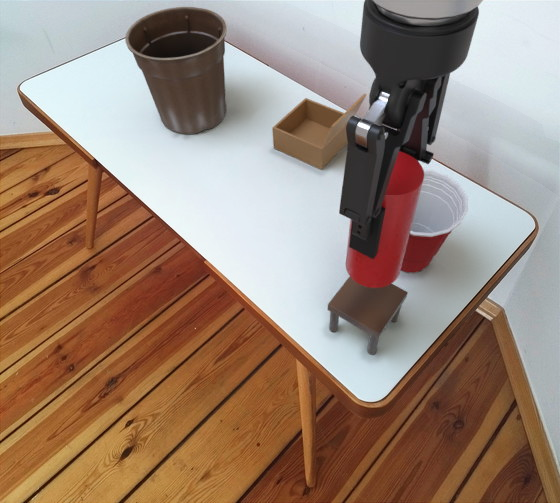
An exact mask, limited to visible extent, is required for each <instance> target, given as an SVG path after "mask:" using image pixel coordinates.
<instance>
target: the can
mask: <svg viewBox="0 0 560 503" xmlns="http://www.w3.org/2000/svg"><path fill="white" fill-rule="evenodd" d="M423 169H424V168H423V166H422V165H421V163H420V161H417V160H416V159H415V158H413V157H412V156H410V155H408V154H406V153H404V152H400V151H399V153H398V156H397V159H396V162H395V165H394V168H393V172H392V175H391V178H390V181H389V184H388V187H387V191H386V194H385V197H384V200H383V203H382V207H384V208H386V209H385V214H384V220H383V225H382V231H381V236H380V241H379V247H378V252H377V255H376V256H375V258H374V259H371V258H369V257H368V256H366V255H364V254H362V253H360V252H358V251H356V250H354V249H352V248H350V247H349V243H350V234H351V226H352V220H351V219H350V221H349V230H348V239H347V247H346V256H345V270H346V272H347V274H348V276H349V277H351V278H352V279H353V280H354V281H355V282H357V283H358V284H360V285H363V286H365V287H370V288H381V287H385V286H388V285H390V284H393V283H394V282H395V281H396V280H397V279H398V278H399V276H400V273H401V271H402V270H401V267H402V263H403V259H404V255H405V251H406V247H407V243H408V239H409V235H410V231H411V227H412V224H413V220H414V216H415V212H416V208H417V204H418V200H419V196H420V192H421V188H422V184H423V180H424V170H423Z"/></svg>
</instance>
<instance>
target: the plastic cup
mask: <svg viewBox="0 0 560 503" xmlns="http://www.w3.org/2000/svg"><path fill="white" fill-rule="evenodd" d="M423 170H424V180H423V184H422V188H421V192H420V196H419V200H418V204H417V208H416V212H415V216H414V220H413V224H412V227H411V231H410V235H409V239H408V243H407V247H406V251H405V255H404V259H403V263H402V267H401V271H402V272H404V273H412V274H414V273H419V272H422V271H423V270H424V269H426V268H427V267H428V266H429V265H430V263H431V262H432V260H433V259H434V257H435V256H436V255H437V254H438V252H439V250H440V249H441V247H442V246H443V244H444V243H445V241H446V239H447V238H448V236H449V235H450V234H451V233H452V232H453V230H455V229H456V228H458V227H459V226H460V225H461V224H462V223H463V221H464V219H465V217H467V214H468V212H469V197H468V195H467V193H466V192H465V190H464V188H463V187H462V184H460V183H459V182H457V181H456V180H455V179H453V178H452V177H451V176H449V175H448V174H445V173H442V172H439V171H436V170H433V169H427V168H426V169H424V168H423Z"/></svg>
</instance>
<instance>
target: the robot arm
mask: <svg viewBox="0 0 560 503" xmlns="http://www.w3.org/2000/svg"><path fill="white" fill-rule="evenodd" d="M483 1H484V0H364V1H363V8H362V17H361V29H360V38H359V49H360V53H361V55H362V58H363V59H364V60H365V61H366V63H367V64H368V65H369V66H370V68H371V69H372V71H373V73H374V75H375V78H374V79H373V81H372V83H371V84H372V85H371V86H370V90H369V96H368V103H369V104H368V105H369V107H368V110H367V111H366V113H365V114H364V116H363V118H361V117H358V116H356V115H355V116H351V117H350V119H349V121H348V123H347V126H346V133H347V141H348V143H347V148H346V156H345V164H344V172H343V179H342V187H341V193H340V194H341V195H340V202H339V210H338V213H339V215H342V216H344V217H346V218H347V219H351V220H352V226H351V234H350V243H349V247H350V248H352V249H354V250H356V251H358V252H360V253H362V254H364V255H366V256H368V257H369V258H371V259H374V258H375V256H376V255H377V252H378V247H379V241H380V236H381V231H382V225H383V220H384V214H385V209H386V208H384V207H382V203H383V200H384V197H385V194H386V191H387V187H388V184H389V181H390V178H391V175H392V172H393V168H394V165H395V162H396V159H397V156H398V153H399V151H400V152H404V153H406V154H408V155H410V156H412V157H413V158H415V159H416V160H417V161H418V162H421V163H423V164H426V165H429V164H430V163H431V161H432V160H433V158H434V152H432V151H429V150H428V149H427V148H428V145H429V146H432V144H433V143H434V142H435V141H436V140H437V139H436V138H437V137H436V136H437V132H438V128H439V123H440V119H441V115H442V111H443V106H444V102H445V98H446V94H447V90H448V84H449V81H450V77H451V73H453V72H455V71H456V70H458V69H459V68H460V67H461V66H462V65H463V64H464V62H465V61H466V60H467V57H468V56H469V51H470V47H471V45H472V40H473V37H474V34H475V30H476V25H477V22H478V20H479V14H480V9H479V6H480V5H481V3H482V2H483Z"/></svg>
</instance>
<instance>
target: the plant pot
mask: <svg viewBox="0 0 560 503" xmlns="http://www.w3.org/2000/svg"><path fill="white" fill-rule="evenodd" d="M227 29H228V27H227V24H226V20H225V19H224V18H223V16H221V15H220V14H218V13H217V12H215V11H213V10H210V9H207V8H203V7H197V6H196V7H195V6H177V7H169V8H165V9H160V10H157V11H154V12H151V13H148V14H147V15H145V16H142V17H141V18H138V20H136V21H134V23H132V25H130V27H129V28H128V29H127V31H126V33H125V38H124V41H125V46H126V47H127V49H128V50H129V51H130V53H132V55H133V58H134V60H135V62H136V64H137V67H138V69H139V70H140V71H141V72H142V75H143V77H144V79H145V82H146V85H147V87H148V90H149V92H150V94H151V95H150V96H151V97H152V100H153V103H154V105H155V107H156V110H157V113H158V116H159V118H160V120H161V122H162V124H163V125H164V127H165V128H166V129H168V130H170V131H172V132H174V133H178V134H184V135H185V134H186V135H192V134H193V135H194V134H199V133H202V131H204V130H207V129H208V130H211V129H213V128H215V127H216V126H217V125H219V124H220V123H221V122H222V121H223V119H224V118H225V117H226V114H227V97H226V81H225V80H226V76H225V59H224V58H225V57H224V56H225V53H226V41H225V37H226V35H227V31H228V30H227Z"/></svg>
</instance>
